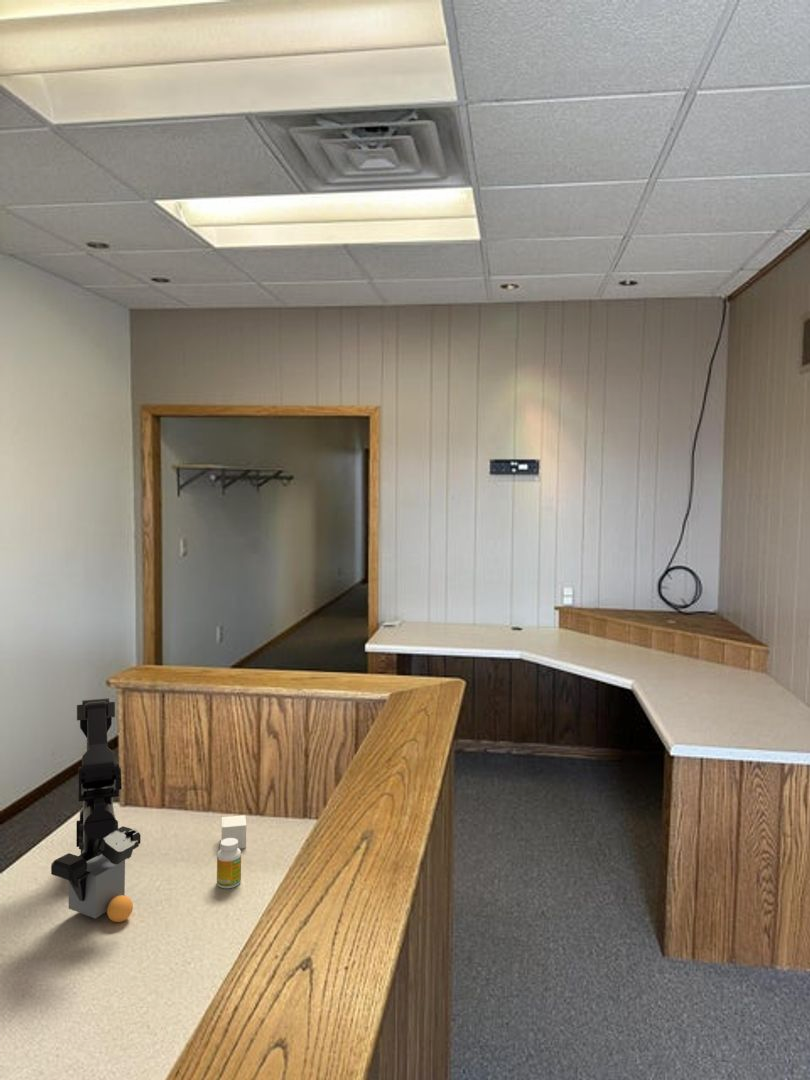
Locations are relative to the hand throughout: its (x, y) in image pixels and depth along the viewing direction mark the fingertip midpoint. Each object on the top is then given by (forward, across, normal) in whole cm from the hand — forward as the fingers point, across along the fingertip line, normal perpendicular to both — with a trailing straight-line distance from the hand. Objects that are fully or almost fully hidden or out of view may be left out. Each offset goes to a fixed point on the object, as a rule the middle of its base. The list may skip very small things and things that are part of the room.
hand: (97, 891), depth 152 cm
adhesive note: (+5, +38, -5) cm, 39 cm away
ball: (+2, 0, -6) cm, 7 cm away
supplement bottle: (+5, +22, -16) cm, 28 cm away
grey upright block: (+3, 0, 0) cm, 3 cm away
